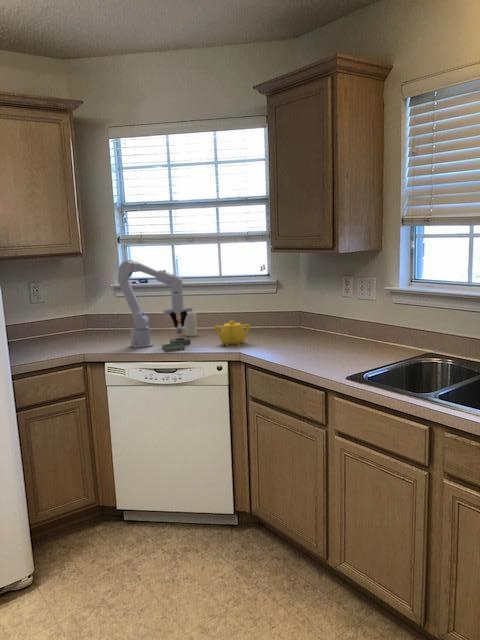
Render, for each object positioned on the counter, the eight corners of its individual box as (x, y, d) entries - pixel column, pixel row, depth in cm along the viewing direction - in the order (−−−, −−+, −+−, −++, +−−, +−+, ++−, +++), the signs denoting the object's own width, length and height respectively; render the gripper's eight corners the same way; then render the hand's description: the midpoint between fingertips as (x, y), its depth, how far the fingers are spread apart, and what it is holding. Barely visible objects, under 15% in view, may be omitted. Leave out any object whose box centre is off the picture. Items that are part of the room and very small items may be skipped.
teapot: (212, 345, 274) (211, 322, 271) (233, 339, 283) (231, 317, 281) (231, 348, 264) (230, 324, 262) (252, 343, 274) (251, 320, 272)
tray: (166, 351, 263) (166, 348, 263) (162, 348, 272) (162, 344, 271) (184, 349, 267) (184, 346, 266) (179, 346, 275) (179, 342, 275)
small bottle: (177, 333, 276) (176, 320, 275) (175, 332, 279) (175, 319, 278) (183, 332, 277) (182, 319, 276) (181, 331, 280) (180, 318, 279)
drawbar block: (173, 346, 274) (173, 341, 274) (170, 343, 281) (169, 339, 280) (190, 344, 277) (190, 339, 277) (186, 341, 284) (186, 337, 283)
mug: (199, 334, 301) (198, 312, 299) (193, 336, 295) (192, 315, 293) (184, 333, 306) (183, 312, 304) (178, 335, 300) (176, 314, 298)
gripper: (165, 302, 269) (167, 329, 271) (193, 299, 274) (195, 326, 276) (161, 301, 275) (163, 327, 278) (189, 298, 280) (191, 324, 283)
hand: (179, 326), depth 277 cm, fingers closed on small bottle, 3 cm apart
